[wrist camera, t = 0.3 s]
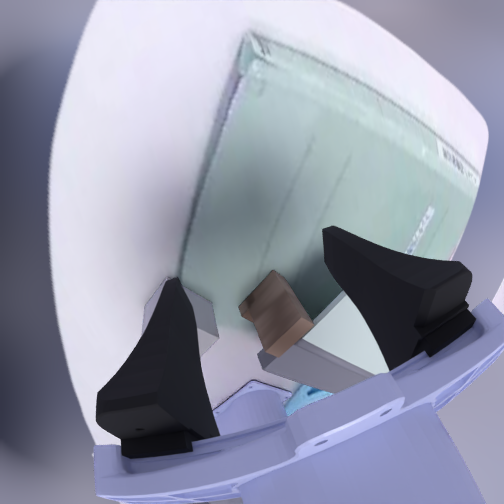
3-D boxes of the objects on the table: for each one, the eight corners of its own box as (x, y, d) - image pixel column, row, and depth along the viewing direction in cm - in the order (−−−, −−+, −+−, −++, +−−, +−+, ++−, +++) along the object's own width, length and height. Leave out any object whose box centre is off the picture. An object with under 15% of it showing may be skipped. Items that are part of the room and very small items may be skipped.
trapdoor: (348, 388, 33) (358, 404, 30) (253, 352, 25) (261, 376, 22) (410, 331, 31) (424, 345, 28) (342, 263, 22) (361, 281, 20)
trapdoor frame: (350, 365, 37) (373, 399, 31) (238, 306, 27) (256, 359, 21) (375, 342, 36) (401, 375, 30) (273, 269, 26) (301, 317, 20)
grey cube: (187, 328, 27) (191, 365, 22) (144, 306, 24) (140, 343, 20) (211, 302, 26) (219, 338, 22) (167, 276, 24) (165, 311, 19)
